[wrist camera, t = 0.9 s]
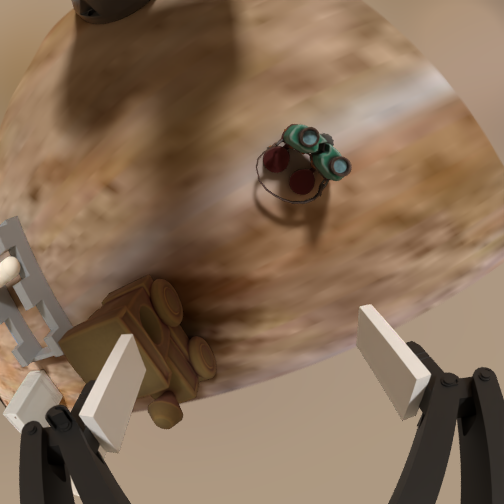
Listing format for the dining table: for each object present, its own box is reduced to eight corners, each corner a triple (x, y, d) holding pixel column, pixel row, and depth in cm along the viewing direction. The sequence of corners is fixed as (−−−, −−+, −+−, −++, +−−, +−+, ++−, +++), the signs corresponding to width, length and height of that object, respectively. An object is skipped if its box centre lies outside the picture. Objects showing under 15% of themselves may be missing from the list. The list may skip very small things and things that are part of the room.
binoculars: (243, 179, 28) (309, 105, 25) (246, 170, 38) (294, 115, 35) (309, 234, 30) (371, 165, 27) (295, 211, 40) (342, 159, 37)
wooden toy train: (102, 286, 40) (50, 344, 25) (161, 257, 40) (122, 314, 24) (166, 379, 46) (149, 452, 30) (223, 361, 46) (221, 439, 30)
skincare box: (30, 370, 45) (-1, 411, 31) (45, 368, 45) (14, 413, 31) (49, 397, 48) (25, 440, 33) (65, 397, 47) (40, 443, 33)
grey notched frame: (-20, 249, 37) (-39, 258, 31) (17, 215, 36) (-5, 223, 30) (36, 354, 44) (23, 370, 38) (80, 339, 43) (66, 358, 37)
